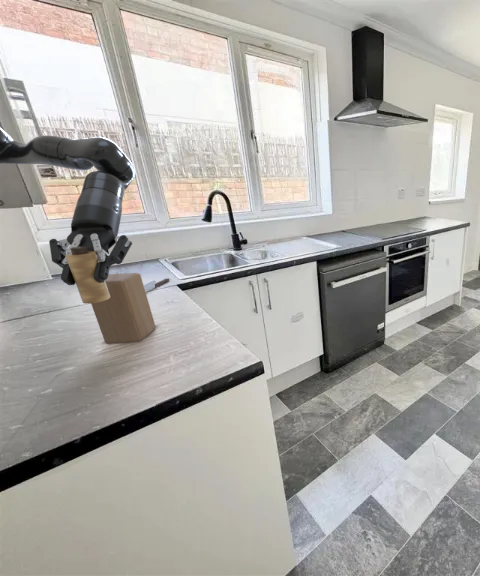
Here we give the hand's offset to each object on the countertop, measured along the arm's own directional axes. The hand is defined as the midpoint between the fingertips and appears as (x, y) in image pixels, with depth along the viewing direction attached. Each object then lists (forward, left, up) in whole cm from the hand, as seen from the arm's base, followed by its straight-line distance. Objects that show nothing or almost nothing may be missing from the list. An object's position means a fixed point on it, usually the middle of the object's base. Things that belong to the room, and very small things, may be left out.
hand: (83, 281), depth 62 cm
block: (-4, +36, -28) cm, 46 cm away
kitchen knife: (-5, +87, -28) cm, 92 cm away
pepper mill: (0, +2, -5) cm, 5 cm away
